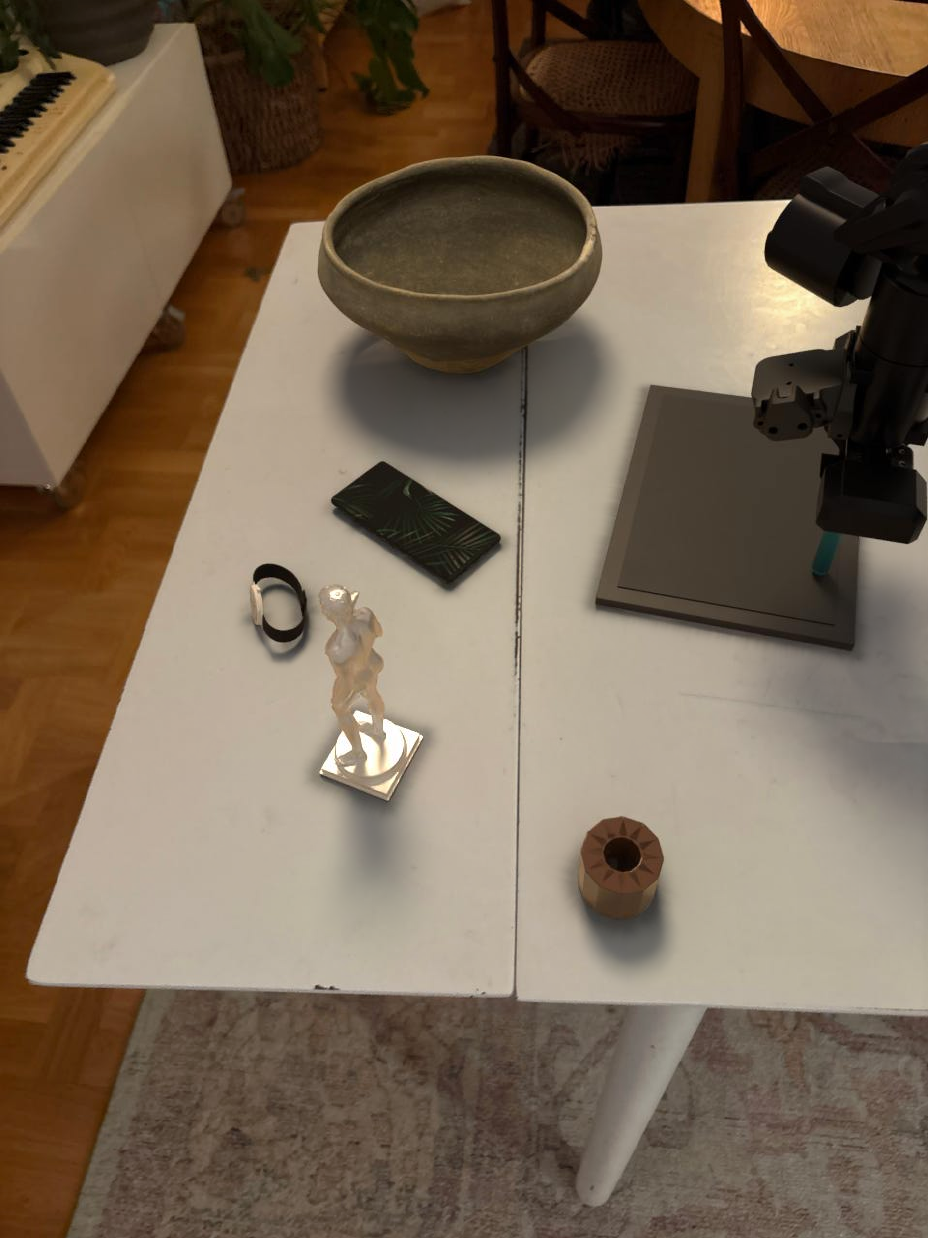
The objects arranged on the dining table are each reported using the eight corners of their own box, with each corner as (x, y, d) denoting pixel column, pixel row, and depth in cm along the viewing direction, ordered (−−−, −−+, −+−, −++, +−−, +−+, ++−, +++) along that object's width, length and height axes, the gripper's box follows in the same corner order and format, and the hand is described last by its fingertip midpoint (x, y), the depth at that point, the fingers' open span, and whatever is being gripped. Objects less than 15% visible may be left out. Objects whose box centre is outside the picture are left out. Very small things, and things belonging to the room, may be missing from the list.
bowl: (314, 425, 90) (283, 299, 79) (356, 271, 107) (336, 149, 96) (597, 427, 88) (607, 297, 76) (595, 269, 104) (603, 143, 93)
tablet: (649, 391, 90) (650, 383, 90) (860, 418, 86) (863, 410, 85) (594, 604, 74) (595, 596, 73) (851, 651, 70) (855, 643, 69)
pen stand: (644, 841, 61) (651, 811, 58) (664, 913, 58) (672, 886, 55) (571, 852, 61) (574, 823, 58) (587, 925, 58) (591, 899, 55)
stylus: (823, 564, 74) (870, 442, 64) (830, 577, 73) (878, 455, 63) (806, 567, 74) (851, 445, 64) (813, 579, 73) (858, 458, 63)
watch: (245, 588, 78) (234, 559, 75) (298, 572, 78) (289, 543, 76) (263, 656, 73) (252, 628, 70) (320, 638, 74) (311, 610, 71)
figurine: (372, 684, 71) (332, 523, 56) (446, 723, 68) (423, 564, 54) (306, 766, 67) (245, 615, 52) (381, 810, 64) (339, 663, 50)
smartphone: (448, 581, 75) (328, 498, 82) (449, 588, 76) (330, 506, 83) (503, 534, 78) (382, 458, 85) (503, 542, 79) (383, 466, 86)
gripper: (785, 246, 63) (744, 422, 76) (760, 416, 53) (717, 589, 65) (957, 262, 61) (886, 441, 73) (967, 444, 50) (882, 618, 62)
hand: (840, 516), depth 68 cm, fingers closed on stylus, 1 cm apart
